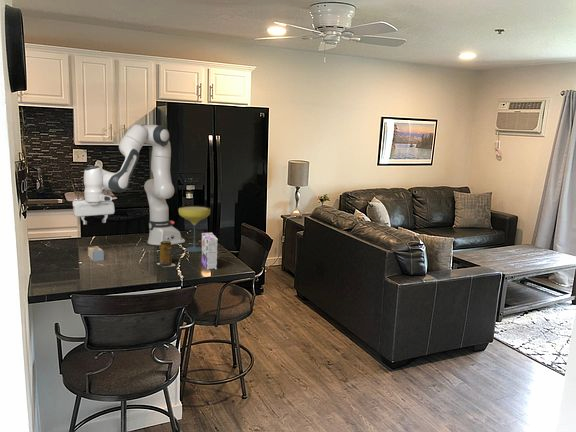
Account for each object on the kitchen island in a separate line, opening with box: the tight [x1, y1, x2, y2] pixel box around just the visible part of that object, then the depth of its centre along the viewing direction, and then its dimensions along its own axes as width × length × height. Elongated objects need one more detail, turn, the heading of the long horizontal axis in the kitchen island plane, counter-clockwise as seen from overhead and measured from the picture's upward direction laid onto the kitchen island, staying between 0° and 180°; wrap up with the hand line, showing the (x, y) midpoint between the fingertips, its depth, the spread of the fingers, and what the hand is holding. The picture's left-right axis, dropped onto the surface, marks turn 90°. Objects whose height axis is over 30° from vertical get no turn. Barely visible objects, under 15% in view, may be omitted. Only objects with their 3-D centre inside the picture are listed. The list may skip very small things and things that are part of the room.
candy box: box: [201, 232, 219, 271], centre depth 236 cm, size 14×6×16 cm, turn 21°
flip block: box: [87, 245, 105, 262], centre depth 242 cm, size 5×5×11 cm
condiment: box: [156, 241, 177, 268], centre depth 236 cm, size 7×8×12 cm
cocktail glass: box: [178, 204, 211, 253], centre depth 266 cm, size 18×18×25 cm
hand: (94, 223), depth 239 cm, fingers open, 8 cm apart
